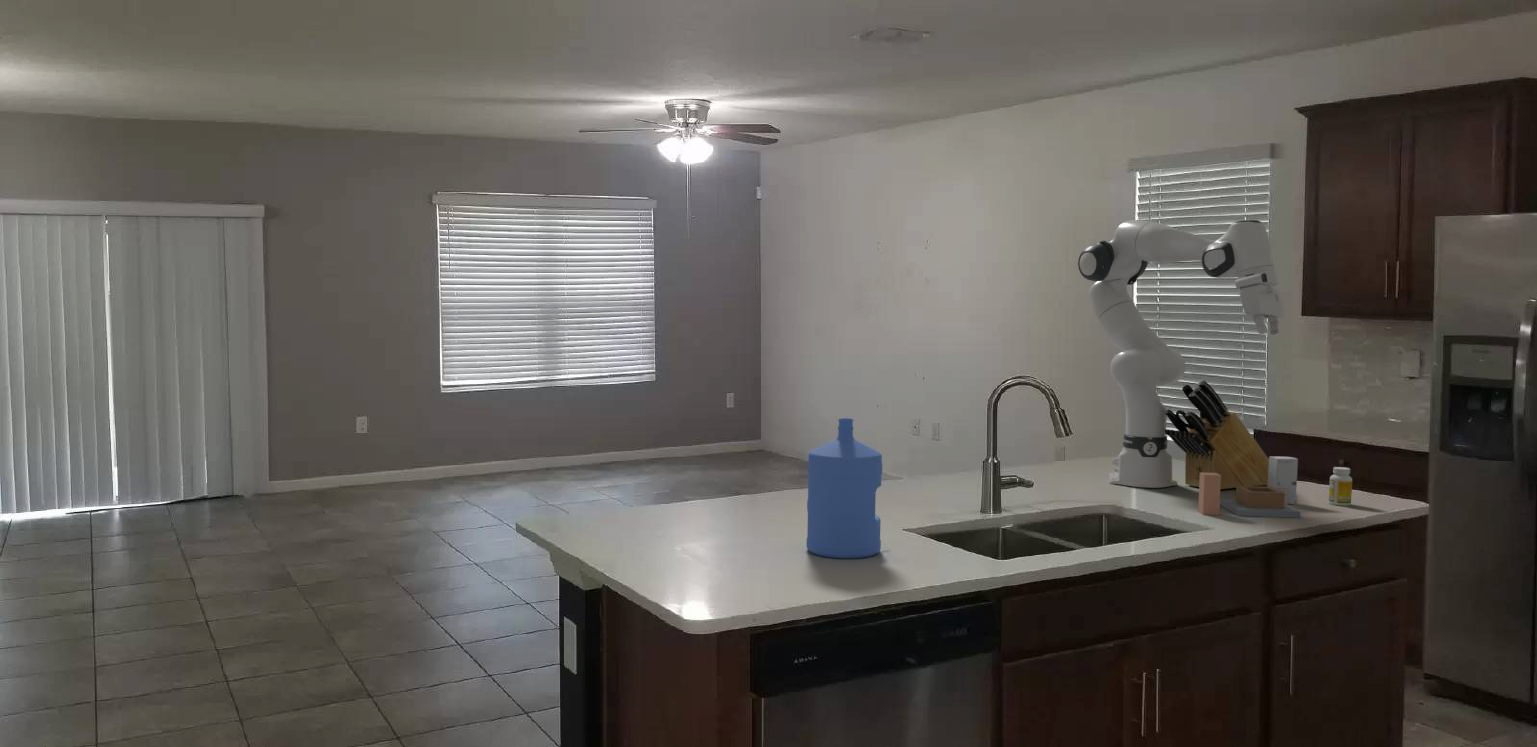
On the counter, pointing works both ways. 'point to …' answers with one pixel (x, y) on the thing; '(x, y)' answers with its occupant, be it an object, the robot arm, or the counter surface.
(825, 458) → the water jug
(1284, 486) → the skincare box
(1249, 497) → the collar socket
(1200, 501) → the terracotta peg
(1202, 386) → the knife block
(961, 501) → the counter surface
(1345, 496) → the supplement bottle
